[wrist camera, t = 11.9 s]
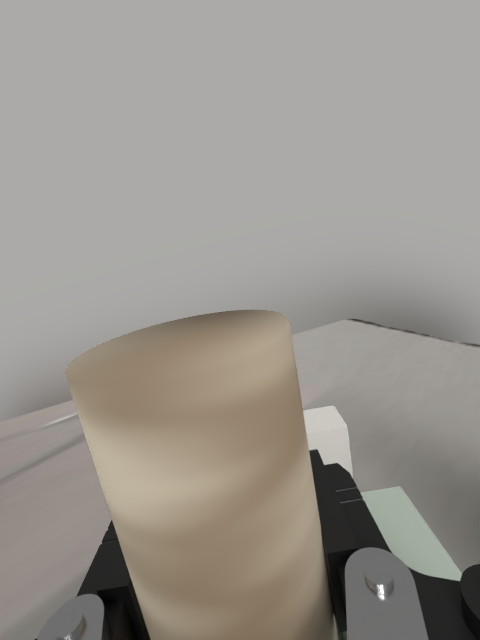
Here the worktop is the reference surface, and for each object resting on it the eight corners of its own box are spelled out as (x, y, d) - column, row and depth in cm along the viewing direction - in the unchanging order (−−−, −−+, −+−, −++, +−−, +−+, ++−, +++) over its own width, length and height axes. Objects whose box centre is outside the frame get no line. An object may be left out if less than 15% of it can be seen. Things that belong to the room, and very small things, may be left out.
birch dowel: (206, 948, 7) (2, 406, 4) (217, 690, 12) (117, 330, 9) (393, 923, 7) (314, 350, 4) (334, 672, 11) (274, 301, 9)
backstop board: (170, 541, 23) (148, 460, 22) (177, 508, 26) (158, 435, 25) (357, 510, 23) (347, 426, 22) (343, 481, 26) (333, 405, 24)
